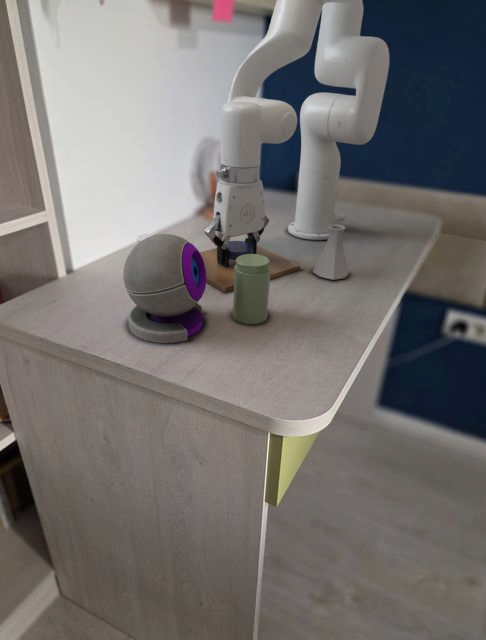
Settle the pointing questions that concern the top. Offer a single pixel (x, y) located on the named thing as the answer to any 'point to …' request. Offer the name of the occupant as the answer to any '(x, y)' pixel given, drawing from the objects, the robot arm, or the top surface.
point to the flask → (333, 256)
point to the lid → (239, 249)
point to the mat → (225, 276)
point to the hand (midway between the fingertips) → (236, 261)
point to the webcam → (165, 288)
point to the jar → (251, 288)
